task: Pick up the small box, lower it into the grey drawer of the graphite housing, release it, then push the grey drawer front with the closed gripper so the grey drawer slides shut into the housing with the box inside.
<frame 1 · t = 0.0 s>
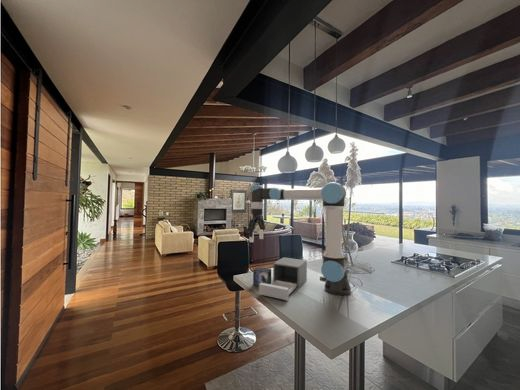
hand: (256, 240, 146), 28 cm above the counter, fingers open, 13 cm apart
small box: (262, 285, 141), on the counter
grey drawer: (279, 285, 130), point 4 cm above the counter, slide at 16.0 cm
housing: (290, 282, 147), on the counter
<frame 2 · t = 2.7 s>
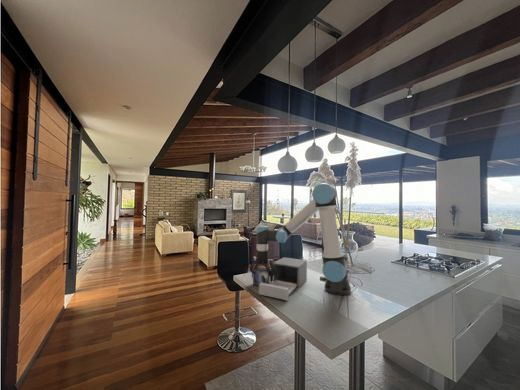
hand: (262, 284, 141), 1 cm above the counter, fingers closed on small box, 11 cm apart
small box: (262, 285, 141), on the counter, touching gripper
everything else where it was.
when the fingers open (5 cm above the counter, at t = 8.3 s): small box drops 2 cm, resting on grey drawer.
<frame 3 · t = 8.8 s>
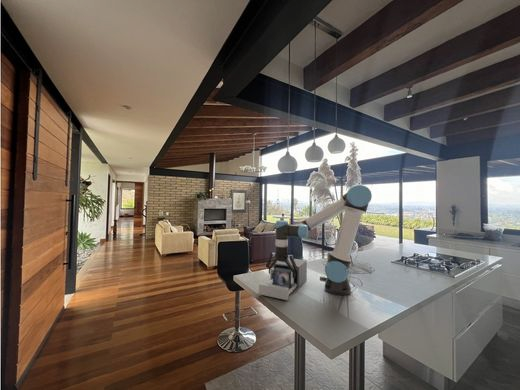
hand: (281, 281, 133), 6 cm above the counter, fingers open, 13 cm apart
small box: (282, 287, 133), point 2 cm above the counter, touching grey drawer
grey drawer: (279, 285, 130), point 4 cm above the counter, slide at 15.9 cm, touching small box
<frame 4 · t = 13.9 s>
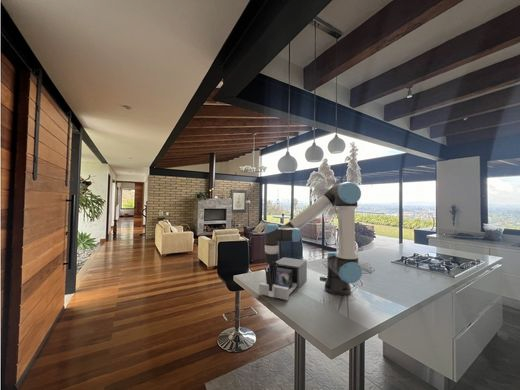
hand: (271, 296, 119), 2 cm above the counter, fingers closed
grey drawer: (279, 285, 131), point 4 cm above the counter, slide at 15.5 cm, touching gripper, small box
everything else where it was.
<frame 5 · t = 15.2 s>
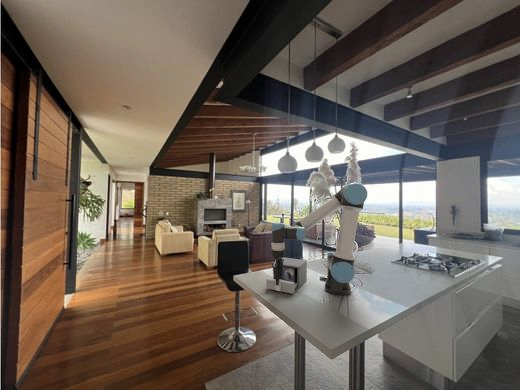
hand: (278, 290, 128), 2 cm above the counter, fingers closed
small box: (287, 282, 141), point 2 cm above the counter, touching grey drawer
grey drawer: (285, 280, 139), point 4 cm above the counter, slide at 6.2 cm, touching gripper, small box
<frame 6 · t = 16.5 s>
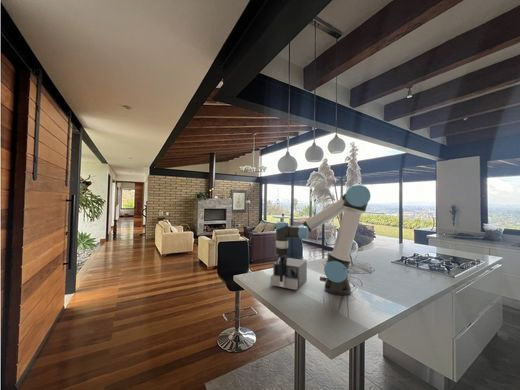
hand: (281, 286, 133), 2 cm above the counter, fingers closed
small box: (291, 279, 147), point 2 cm above the counter, touching grey drawer
grey drawer: (288, 277, 145), point 4 cm above the counter, slide at -0.1 cm, touching gripper, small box
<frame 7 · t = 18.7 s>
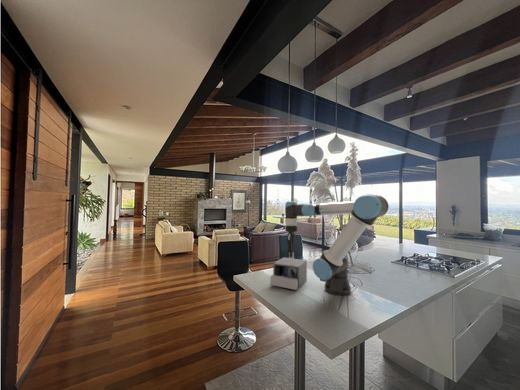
hand: (291, 262, 141), 15 cm above the counter, fingers closed
grey drawer: (288, 277, 144), point 4 cm above the counter, slide at 0.0 cm, touching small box
everything else where it was.
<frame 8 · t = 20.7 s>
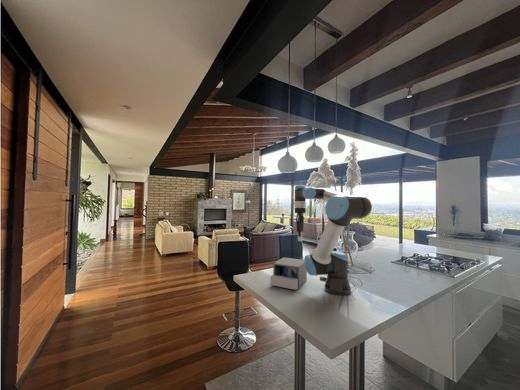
hand: (300, 241, 154), 26 cm above the counter, fingers closed
nothing on the counter moved.
at the end: grey drawer slide at 0.0 cm; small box inside the target area on the housing (0.4 cm from its centre), point 1.7 cm above the housing's base; the gripper is holding nothing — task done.
